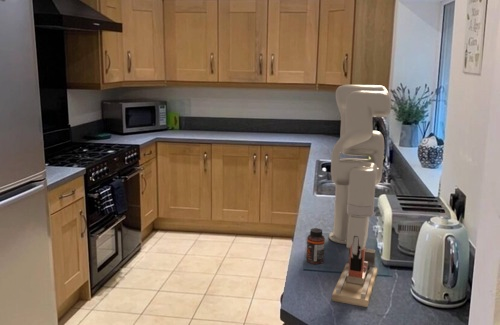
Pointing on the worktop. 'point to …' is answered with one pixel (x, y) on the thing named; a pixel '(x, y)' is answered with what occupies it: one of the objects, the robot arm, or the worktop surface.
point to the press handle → (356, 275)
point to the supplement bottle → (315, 246)
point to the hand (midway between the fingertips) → (356, 267)
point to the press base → (357, 292)
